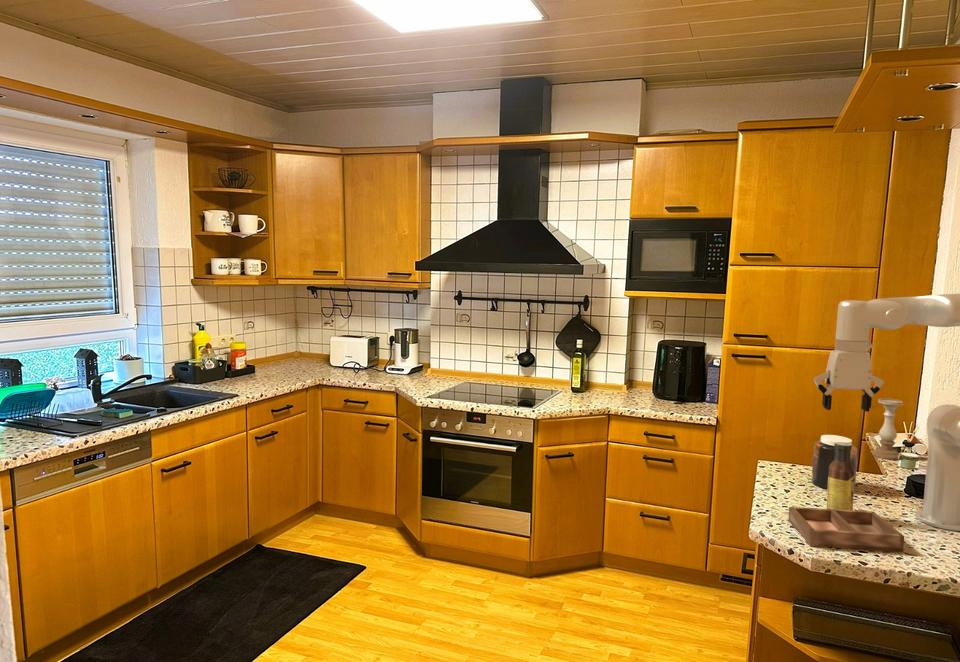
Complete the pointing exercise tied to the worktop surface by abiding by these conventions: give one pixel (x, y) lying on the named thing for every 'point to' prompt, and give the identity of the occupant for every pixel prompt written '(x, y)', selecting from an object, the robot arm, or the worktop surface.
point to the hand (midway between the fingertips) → (846, 409)
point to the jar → (828, 459)
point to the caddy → (845, 529)
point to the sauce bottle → (841, 479)
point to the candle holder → (888, 430)
